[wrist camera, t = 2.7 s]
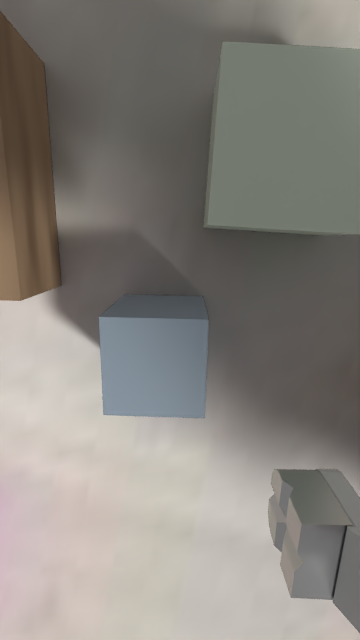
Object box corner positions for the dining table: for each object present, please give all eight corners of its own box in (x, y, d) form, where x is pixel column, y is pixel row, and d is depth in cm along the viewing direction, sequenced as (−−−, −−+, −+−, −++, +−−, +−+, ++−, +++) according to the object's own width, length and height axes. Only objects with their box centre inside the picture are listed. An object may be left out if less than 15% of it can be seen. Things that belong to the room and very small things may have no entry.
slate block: (203, 296, 20) (208, 319, 14) (200, 369, 21) (204, 418, 16) (124, 294, 20) (98, 317, 14) (126, 367, 22) (103, 415, 16)
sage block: (341, 102, 17) (400, 51, 13) (319, 235, 19) (362, 234, 14) (213, 95, 17) (222, 41, 13) (203, 227, 19) (207, 224, 14)
